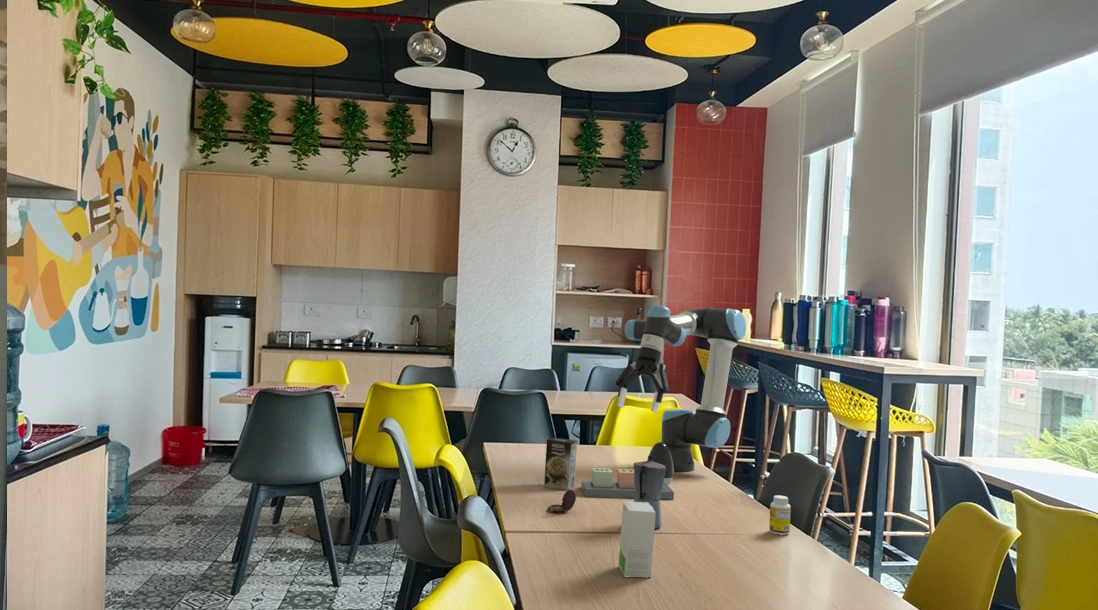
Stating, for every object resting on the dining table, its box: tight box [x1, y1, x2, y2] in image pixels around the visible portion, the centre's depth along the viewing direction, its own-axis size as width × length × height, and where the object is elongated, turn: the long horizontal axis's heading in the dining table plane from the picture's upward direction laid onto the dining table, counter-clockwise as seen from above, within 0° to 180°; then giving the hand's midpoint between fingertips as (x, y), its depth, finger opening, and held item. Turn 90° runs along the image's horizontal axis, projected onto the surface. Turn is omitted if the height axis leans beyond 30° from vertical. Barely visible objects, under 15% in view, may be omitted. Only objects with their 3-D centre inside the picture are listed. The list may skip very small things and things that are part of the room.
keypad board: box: [580, 479, 675, 501], centre depth 268 cm, size 29×13×2 cm, turn 94°
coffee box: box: [543, 437, 578, 491], centre depth 272 cm, size 9×6×16 cm
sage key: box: [591, 467, 613, 487], centre depth 267 cm, size 6×6×5 cm
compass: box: [547, 489, 577, 514], centre depth 239 cm, size 8×8×7 cm
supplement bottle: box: [768, 494, 791, 536], centre depth 228 cm, size 6×6×10 cm
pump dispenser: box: [646, 441, 675, 486], centre depth 284 cm, size 10×10×15 cm
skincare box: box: [618, 501, 656, 578], centre depth 187 cm, size 8×7×16 cm
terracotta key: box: [616, 468, 635, 488], centre depth 268 cm, size 6×6×5 cm
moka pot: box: [633, 454, 666, 530], centre depth 228 cm, size 10×15×20 cm, turn 161°
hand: (636, 409), depth 271 cm, fingers open, 13 cm apart
